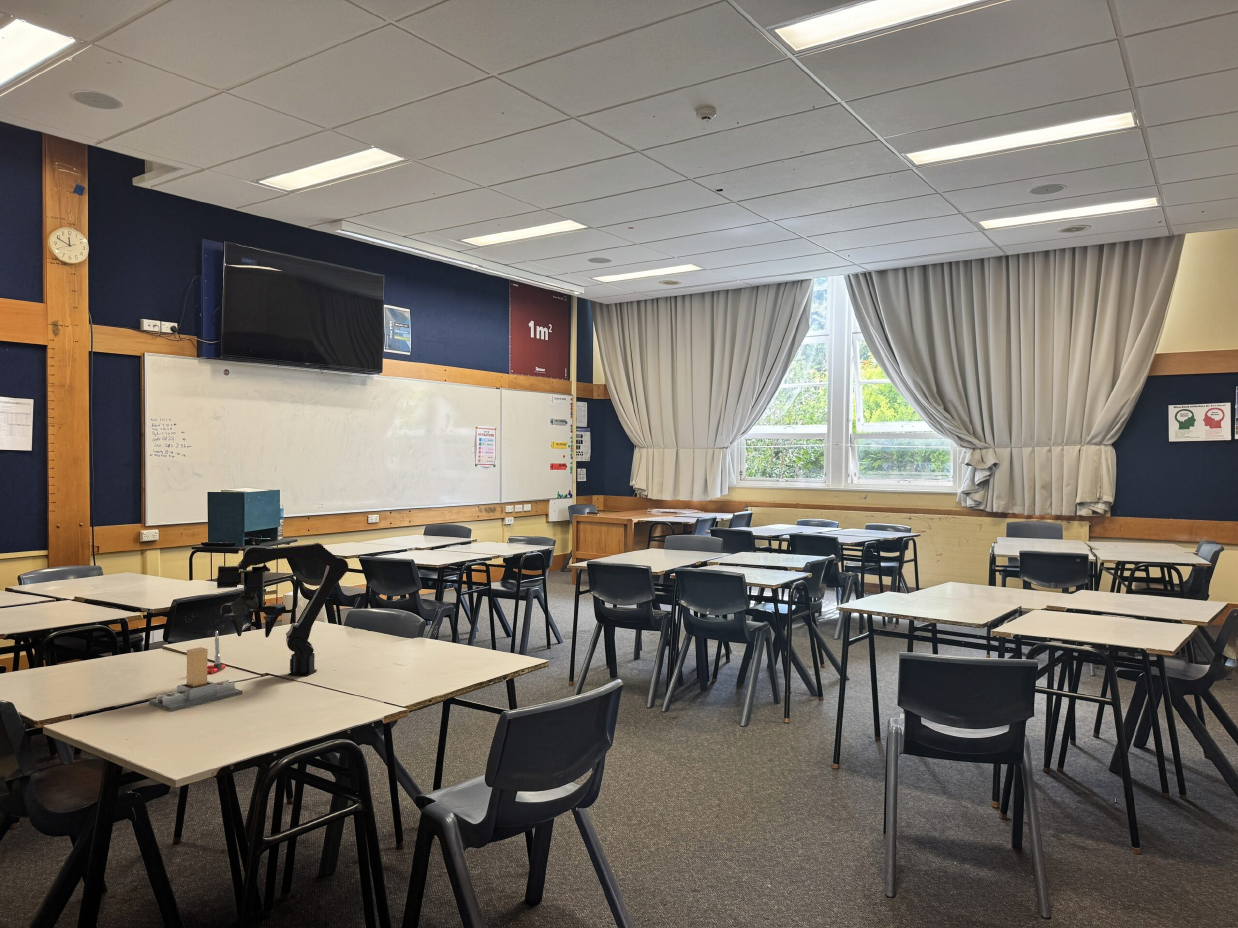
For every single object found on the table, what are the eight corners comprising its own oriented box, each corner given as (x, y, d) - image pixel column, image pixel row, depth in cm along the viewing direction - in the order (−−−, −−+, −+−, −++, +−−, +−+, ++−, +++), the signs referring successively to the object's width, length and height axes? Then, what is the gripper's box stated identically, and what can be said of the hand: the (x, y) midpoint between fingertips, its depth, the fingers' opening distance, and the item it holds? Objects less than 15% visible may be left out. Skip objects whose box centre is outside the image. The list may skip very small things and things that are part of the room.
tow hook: (184, 675, 250) (213, 674, 249) (183, 634, 250) (211, 633, 249) (200, 668, 258) (227, 668, 257) (198, 629, 258) (226, 628, 258)
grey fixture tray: (220, 687, 235) (220, 673, 235) (242, 693, 228) (242, 680, 228) (149, 703, 219) (149, 689, 219) (171, 711, 212) (171, 696, 212)
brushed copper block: (200, 692, 226) (201, 647, 226) (207, 694, 224) (207, 648, 224) (186, 695, 223) (186, 649, 223) (193, 697, 221) (193, 651, 221)
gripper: (209, 589, 238) (208, 641, 238) (266, 591, 236) (266, 643, 236) (232, 584, 249) (231, 633, 249) (287, 585, 247) (286, 635, 247)
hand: (253, 636), depth 245 cm, fingers open, 9 cm apart
